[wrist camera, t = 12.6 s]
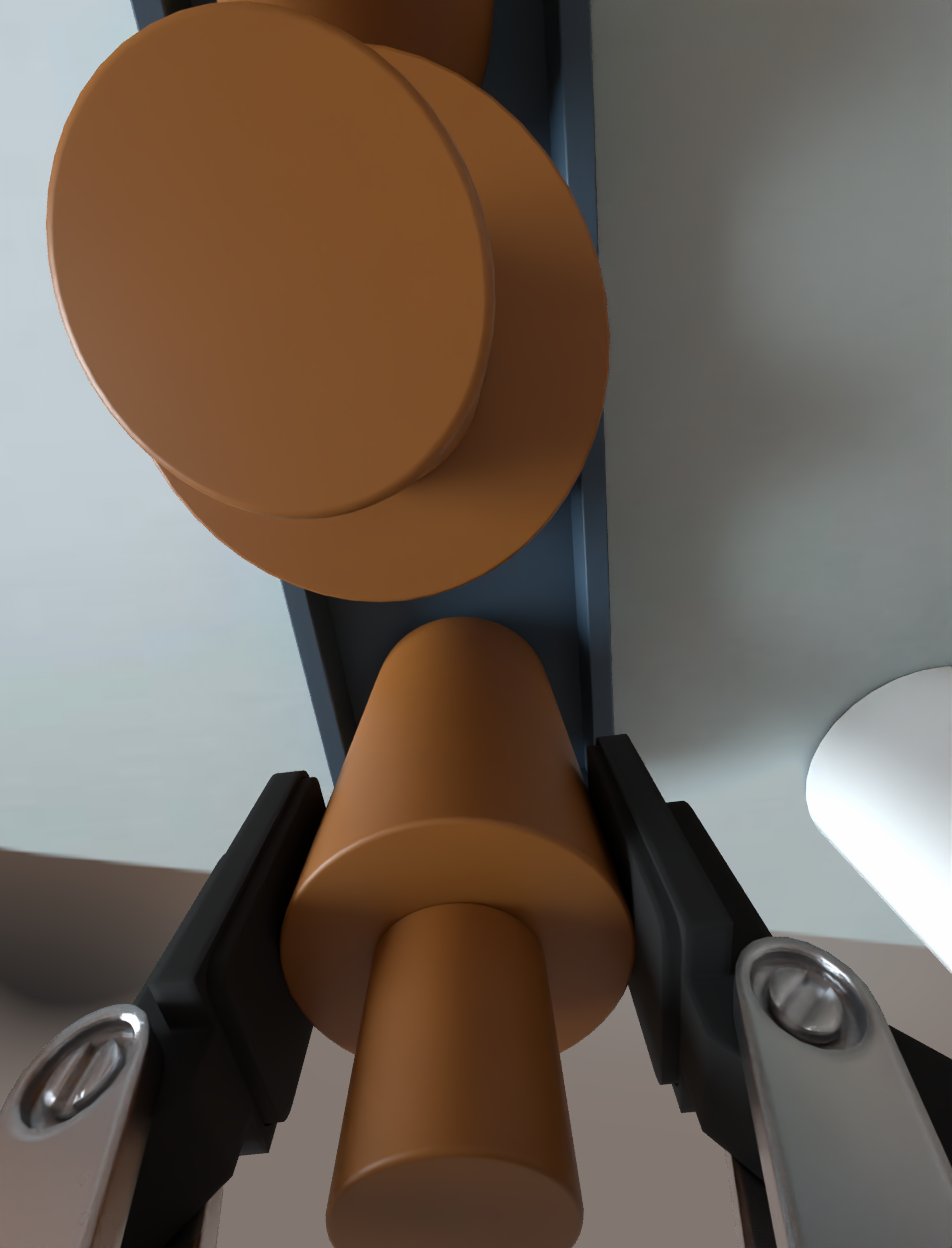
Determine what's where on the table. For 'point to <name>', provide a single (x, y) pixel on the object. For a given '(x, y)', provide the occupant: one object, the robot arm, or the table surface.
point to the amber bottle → (458, 948)
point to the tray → (577, 533)
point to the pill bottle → (894, 799)
